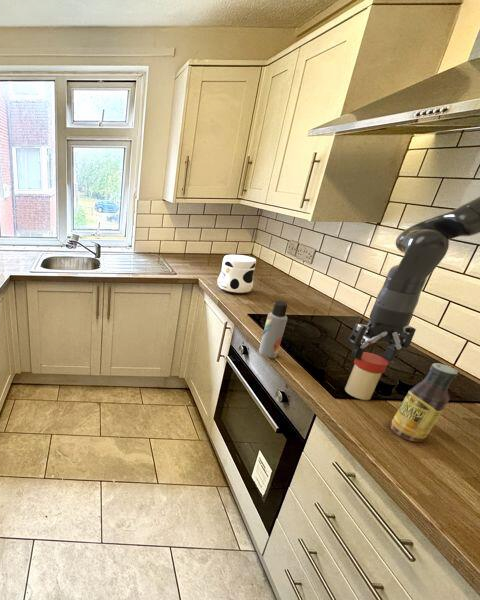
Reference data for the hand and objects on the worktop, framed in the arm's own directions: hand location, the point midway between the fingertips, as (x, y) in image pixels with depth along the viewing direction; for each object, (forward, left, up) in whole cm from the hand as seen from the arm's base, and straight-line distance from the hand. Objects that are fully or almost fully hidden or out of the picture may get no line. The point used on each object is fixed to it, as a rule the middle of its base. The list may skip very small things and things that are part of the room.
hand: (371, 358), depth 88 cm
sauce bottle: (0, +16, -12) cm, 20 cm away
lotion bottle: (+16, -20, -12) cm, 28 cm away
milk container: (+2, -85, -12) cm, 86 cm away
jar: (0, 0, -12) cm, 12 cm away
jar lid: (0, 0, 0) cm, 0 cm away
